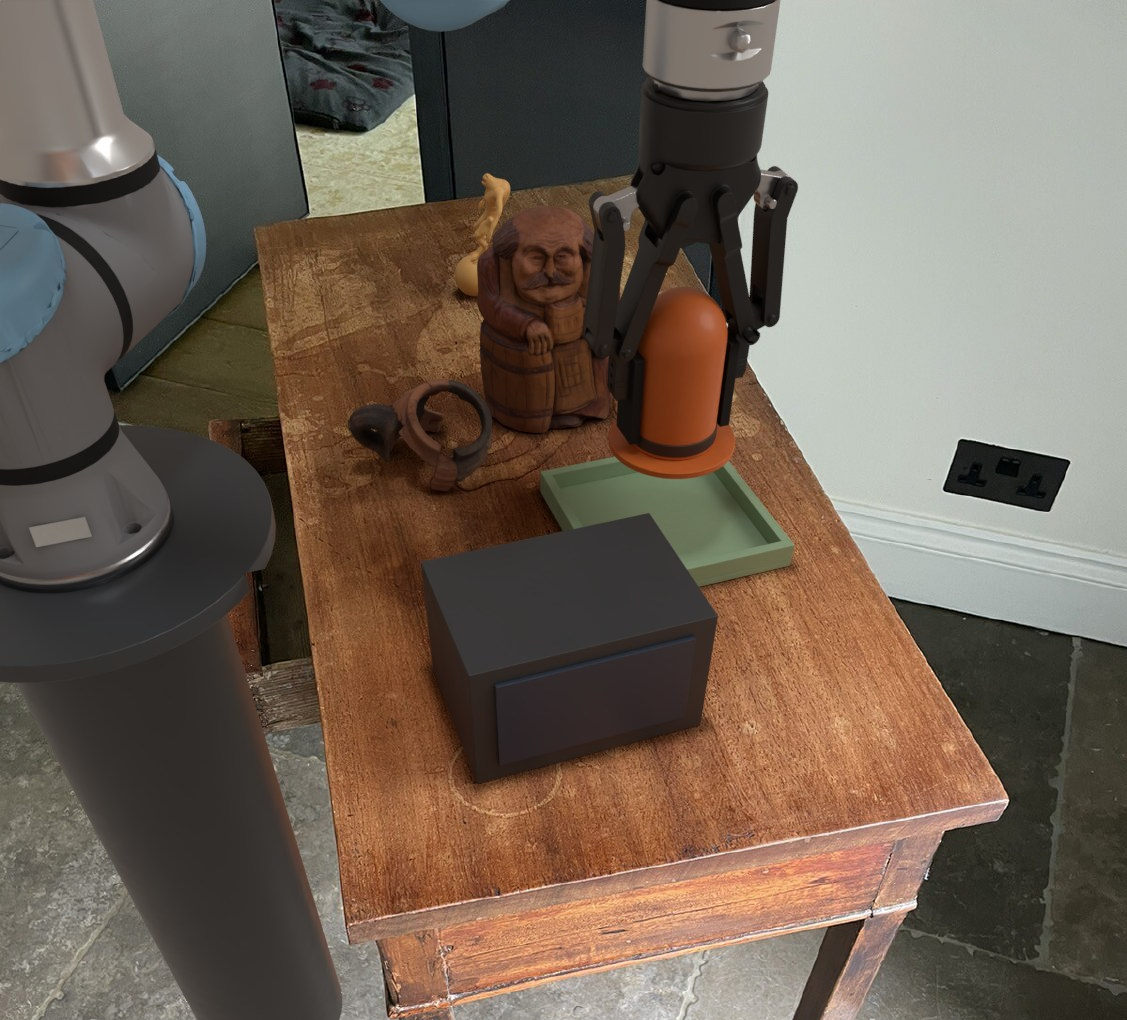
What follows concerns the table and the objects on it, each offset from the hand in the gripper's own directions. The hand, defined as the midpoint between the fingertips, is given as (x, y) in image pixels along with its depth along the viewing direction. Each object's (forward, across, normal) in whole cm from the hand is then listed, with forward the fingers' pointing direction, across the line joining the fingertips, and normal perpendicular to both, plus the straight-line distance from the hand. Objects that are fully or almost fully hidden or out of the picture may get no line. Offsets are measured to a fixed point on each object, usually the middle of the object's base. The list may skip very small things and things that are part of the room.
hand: (672, 424), depth 80 cm
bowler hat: (+1, 0, 0) cm, 1 cm away
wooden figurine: (+10, -3, +19) cm, 22 cm away
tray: (+10, 0, 0) cm, 10 cm away
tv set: (+10, -14, -15) cm, 23 cm away
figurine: (+10, -2, +43) cm, 44 cm away
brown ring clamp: (+10, -16, +15) cm, 24 cm away
